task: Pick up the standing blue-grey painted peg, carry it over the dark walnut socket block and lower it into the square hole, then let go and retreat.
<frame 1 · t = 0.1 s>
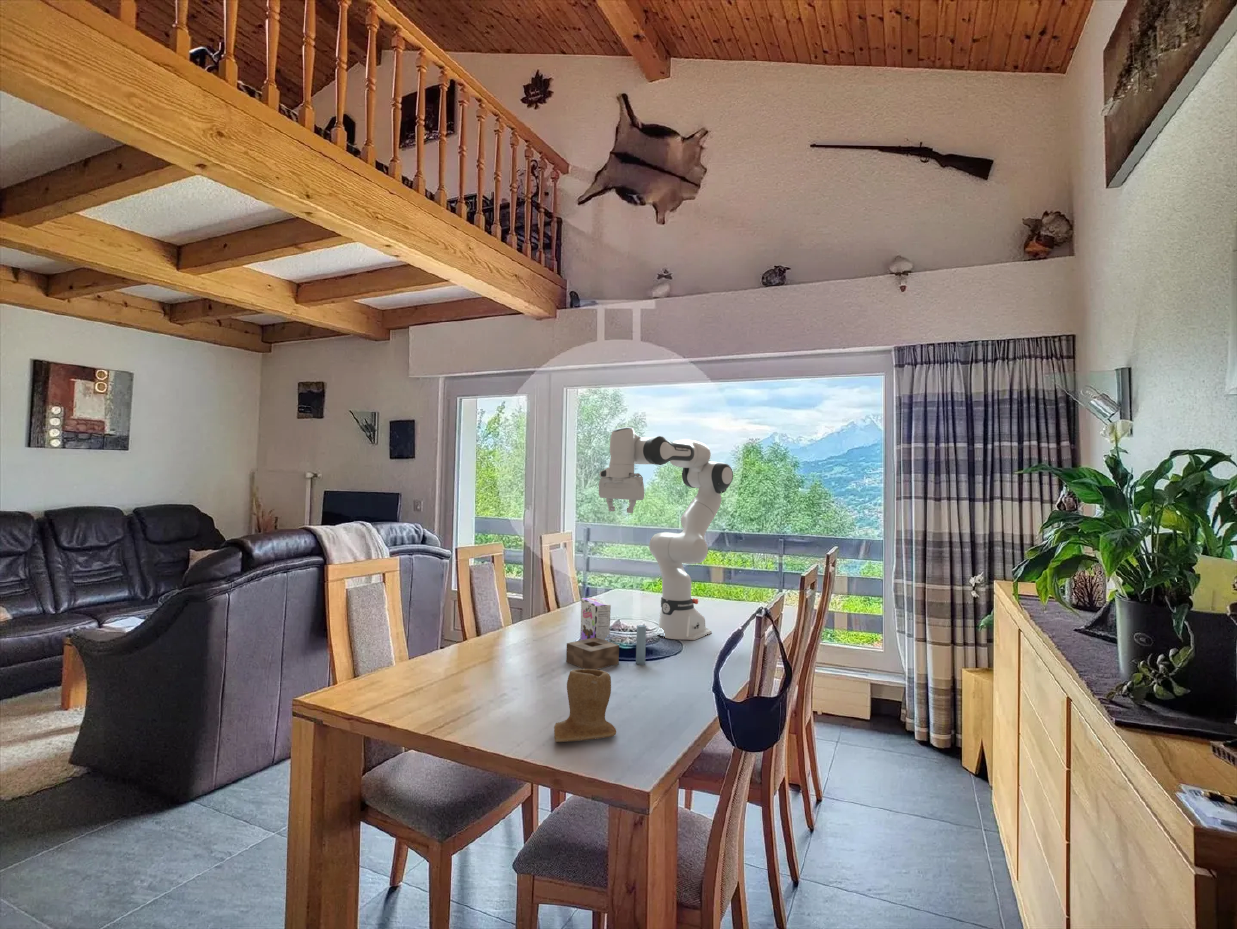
hand: (620, 512, 218), 48 cm above the table, tool pointing down, fingers open, 8 cm apart
tan suede boot: (582, 736, 145), on the table
socket block: (592, 662, 201), on the table
candy box: (594, 648, 218), on the table
peg: (640, 663, 201), on the table
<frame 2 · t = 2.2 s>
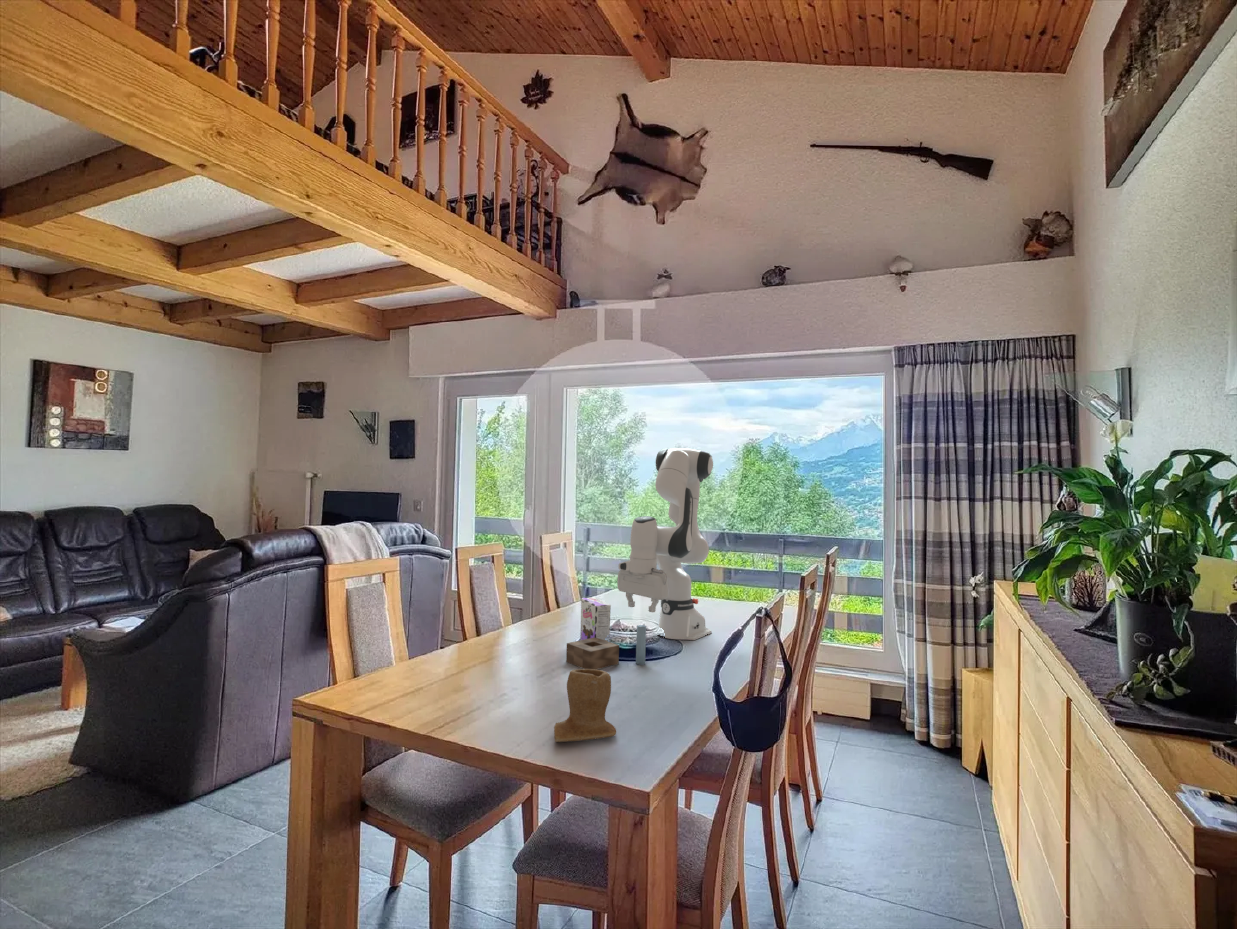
hand: (641, 609, 201), 17 cm above the table, tool pointing down, fingers open, 8 cm apart
nothing on the table moved.
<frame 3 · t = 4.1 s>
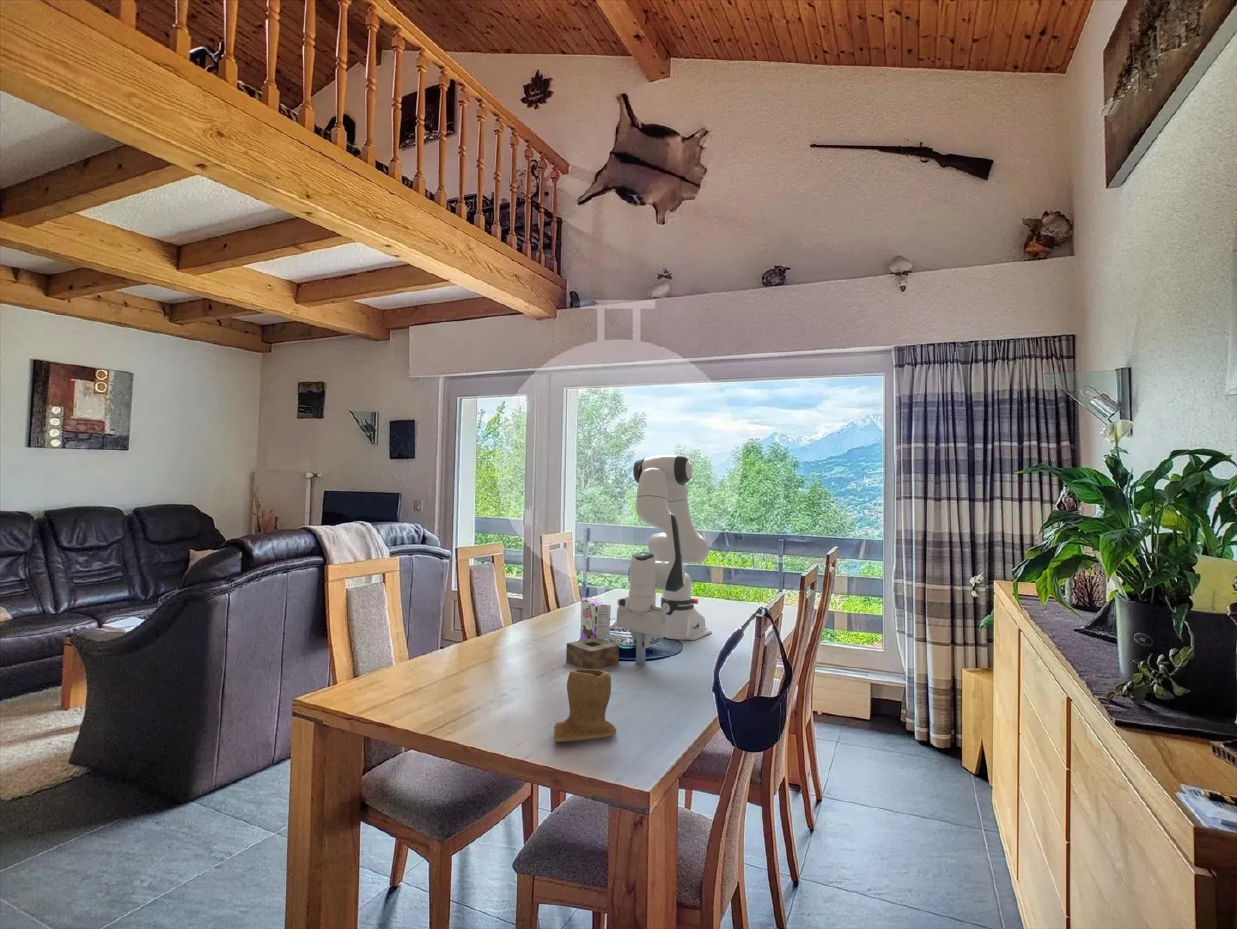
hand: (640, 645, 202), 6 cm above the table, tool pointing down, fingers closed on peg, 3 cm apart
peg: (640, 663, 201), on the table, touching gripper
everything else where it was.
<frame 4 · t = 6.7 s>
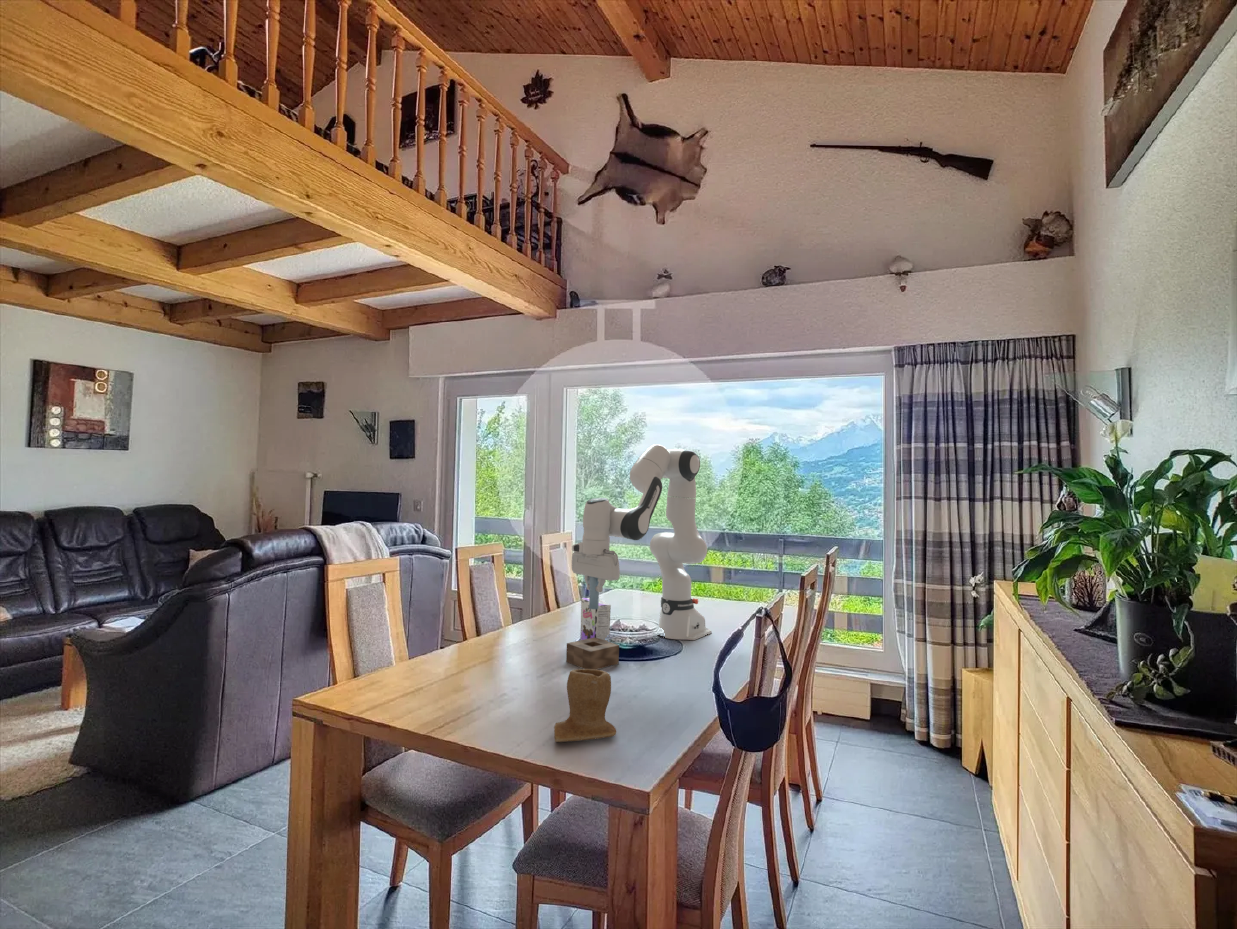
hand: (594, 590, 201), 23 cm above the table, tool pointing down, fingers closed on peg, 3 cm apart
peg: (593, 608, 201), point 18 cm above the table, touching gripper
everything else where it was.
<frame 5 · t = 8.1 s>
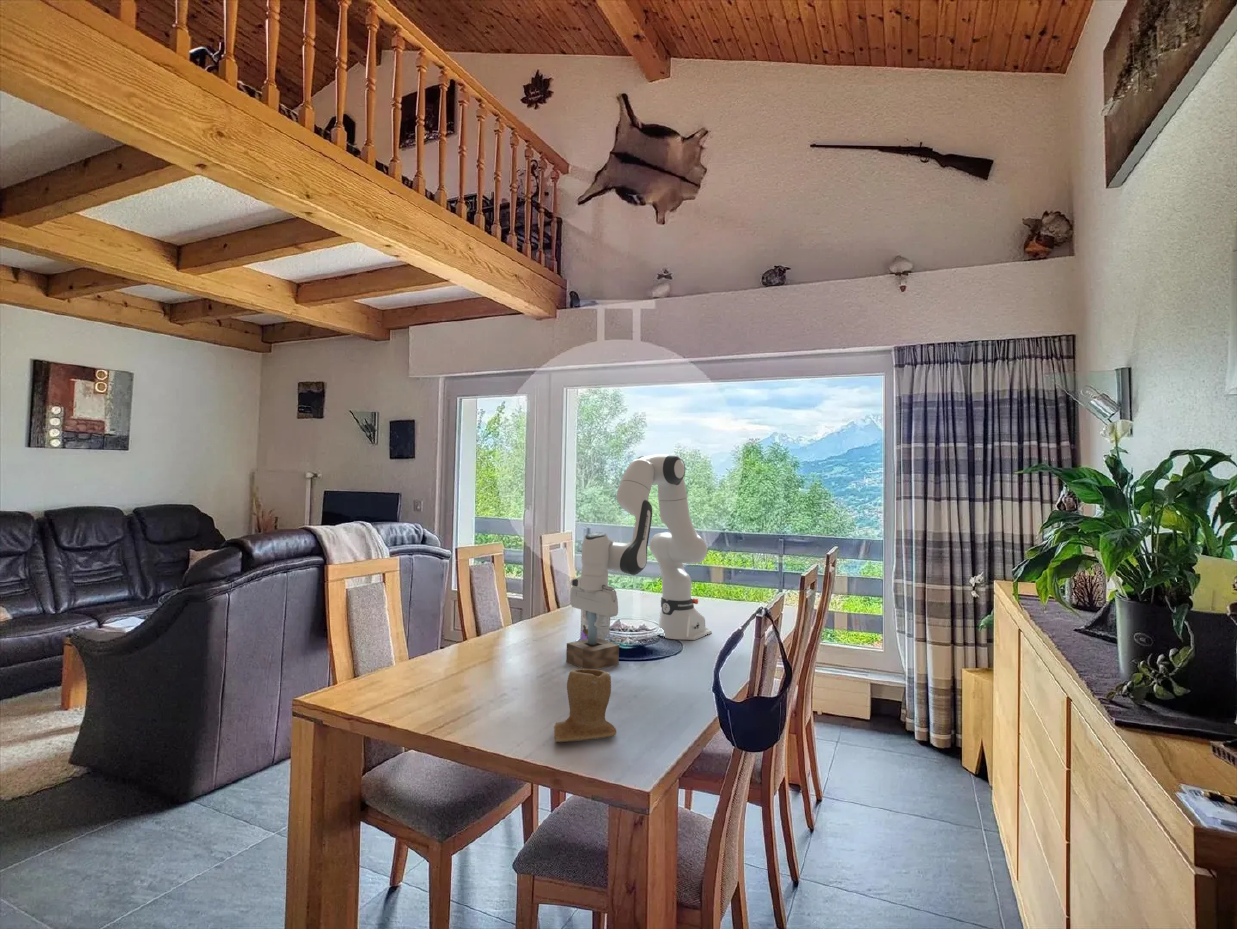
hand: (593, 625, 201), 12 cm above the table, tool pointing down, fingers closed on peg, 3 cm apart
peg: (592, 643, 201), point 6 cm above the table, touching gripper
everything else where it was.
when the fingers open (8 cm above the table, at t = 9.2 s): peg drops 2 cm, resting in socket block.
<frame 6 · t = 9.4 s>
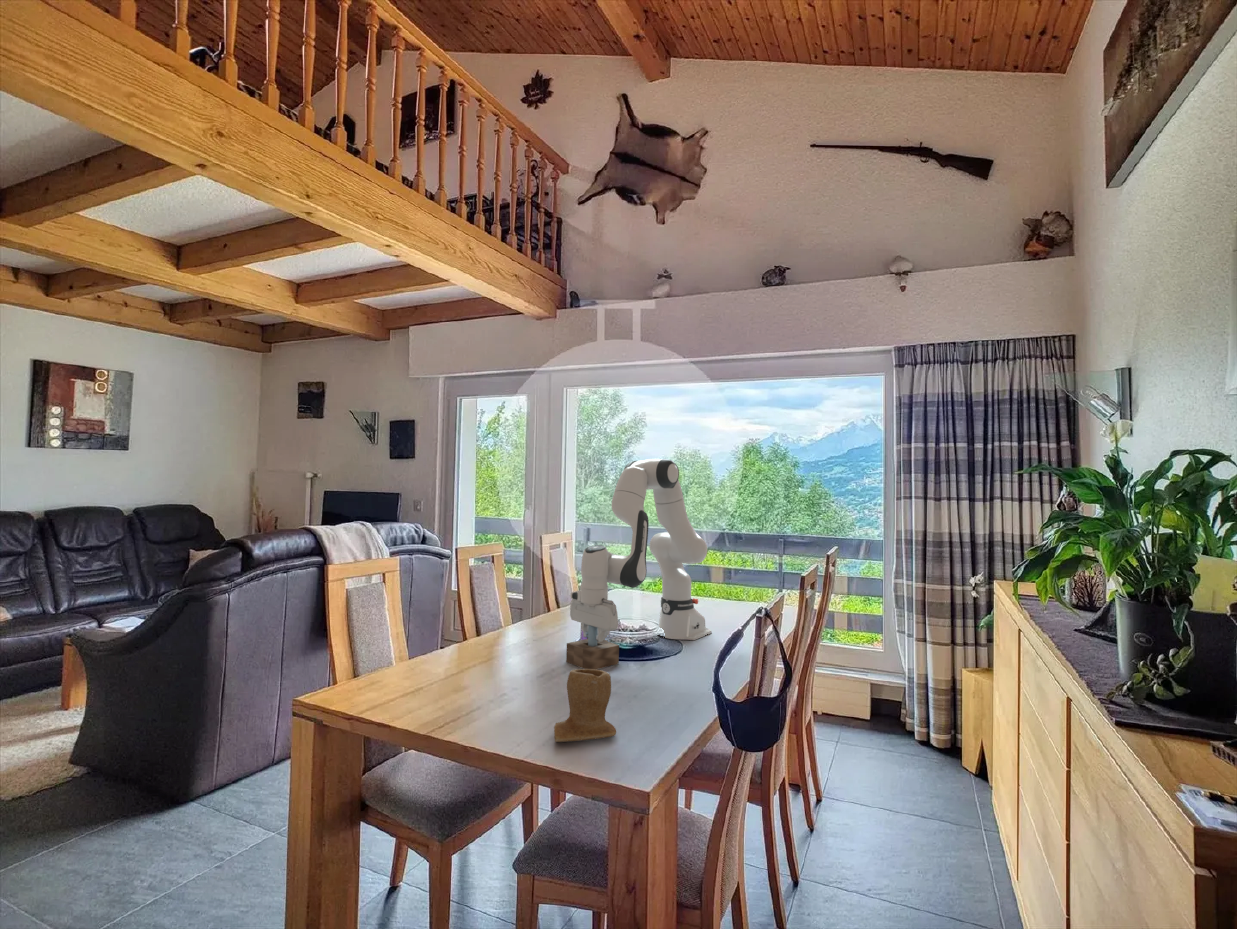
hand: (593, 639, 201), 8 cm above the table, tool pointing down, fingers open, 5 cm apart
peg: (592, 662, 201), resting in socket block
everything else where it was.
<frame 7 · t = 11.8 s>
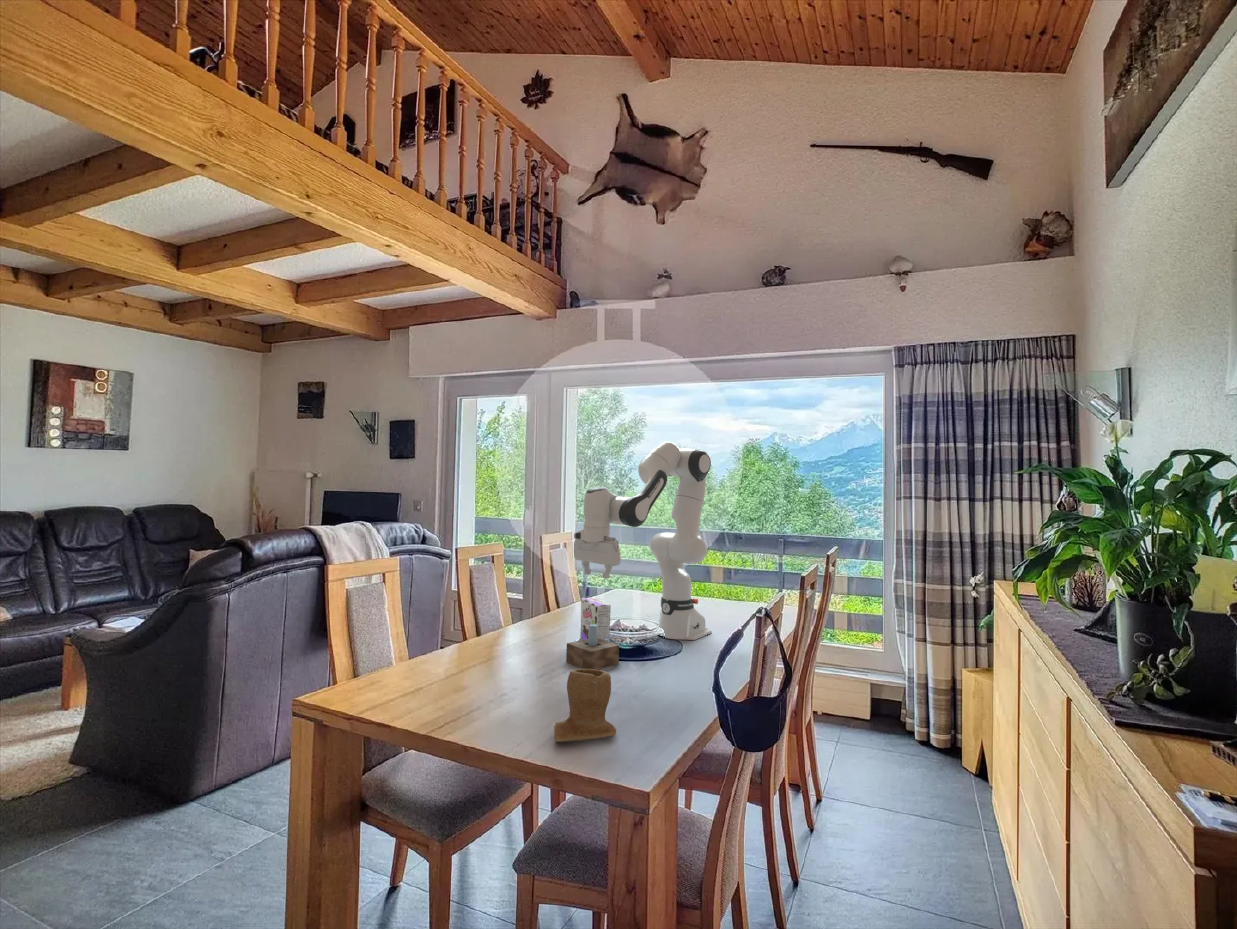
hand: (596, 576, 209), 27 cm above the table, tool pointing down, fingers open, 8 cm apart
nothing on the table moved.
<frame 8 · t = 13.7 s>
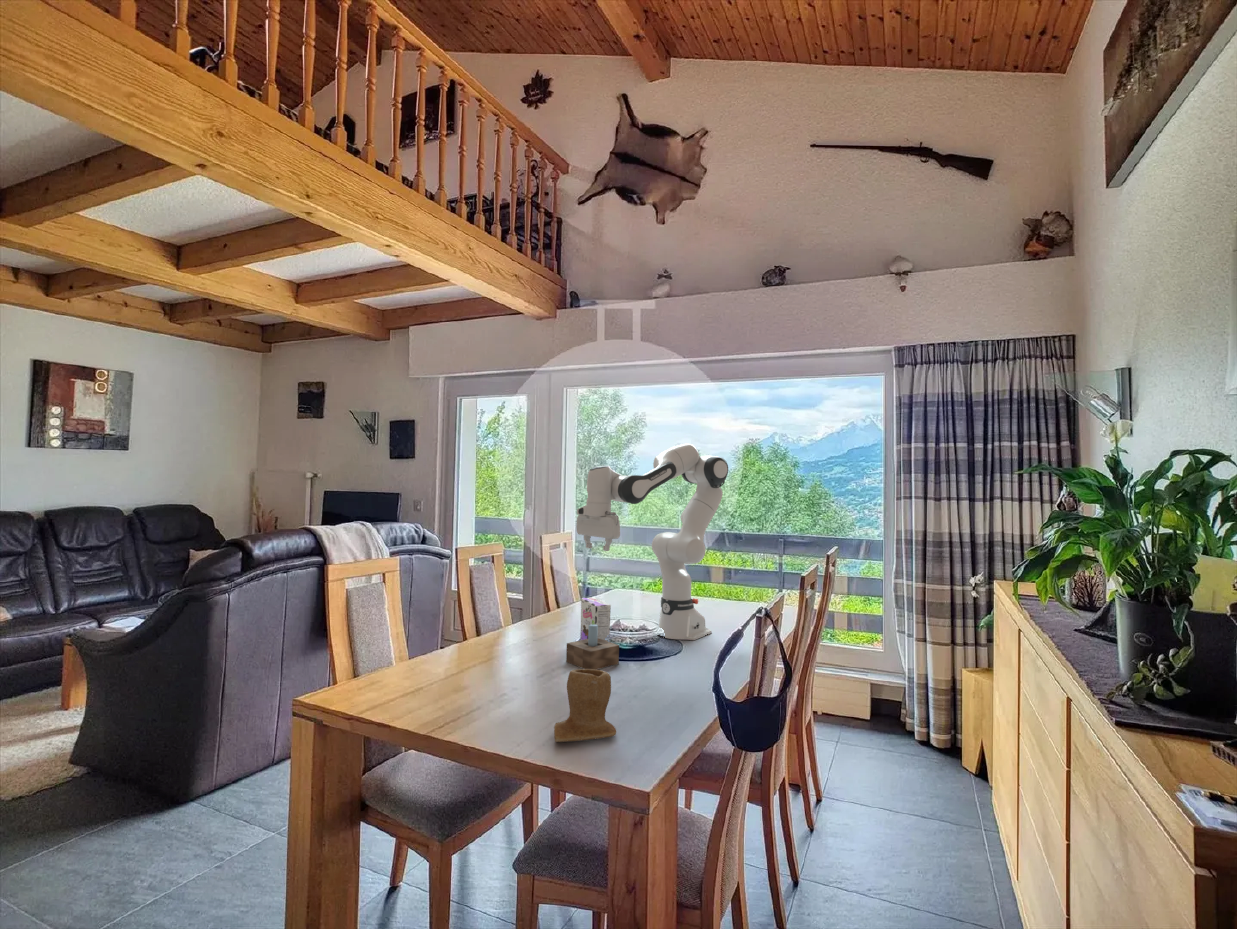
hand: (597, 549, 222), 34 cm above the table, tool pointing down, fingers open, 8 cm apart
nothing on the table moved.
at the end: peg 0.1 cm off-centre on the socket block, point 0.0 cm above the socket block's base; peg tilted 0°; the gripper is holding nothing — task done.
